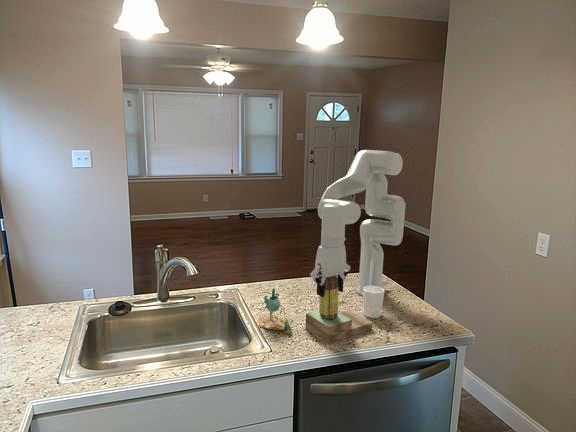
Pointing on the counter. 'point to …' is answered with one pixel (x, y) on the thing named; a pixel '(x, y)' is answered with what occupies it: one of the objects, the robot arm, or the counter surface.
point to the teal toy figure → (274, 321)
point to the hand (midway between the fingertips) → (329, 292)
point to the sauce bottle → (329, 299)
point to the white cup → (372, 301)
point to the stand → (336, 325)
